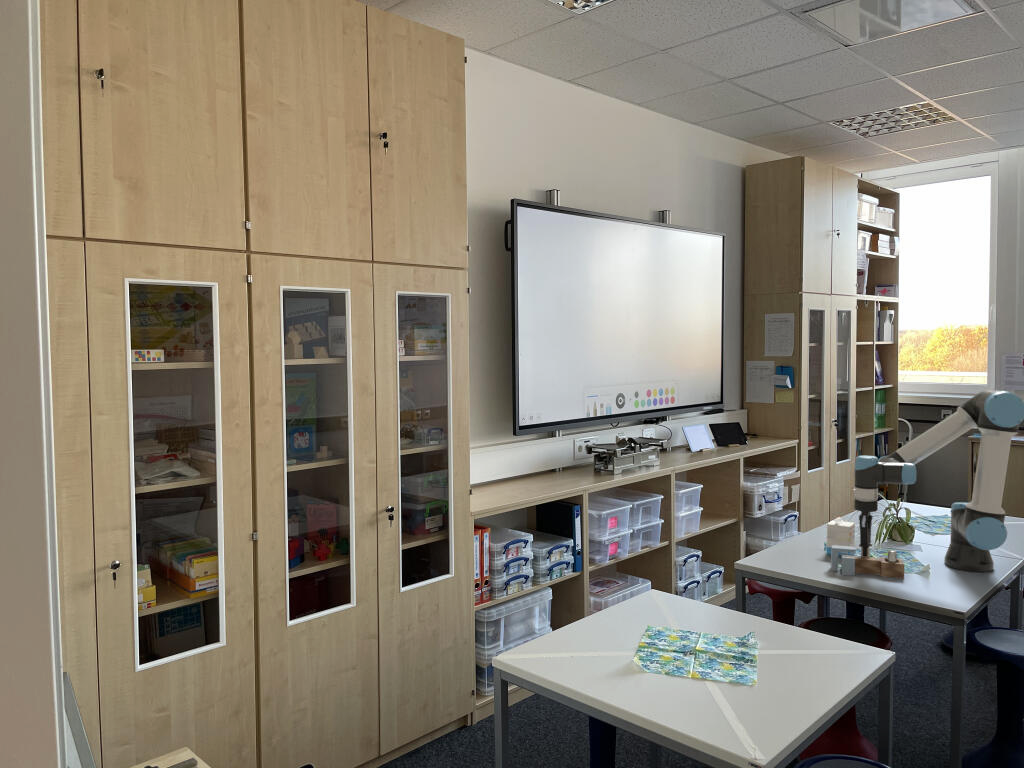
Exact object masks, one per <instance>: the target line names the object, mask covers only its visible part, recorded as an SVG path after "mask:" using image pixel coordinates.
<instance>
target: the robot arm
mask: <svg viewBox="0 0 1024 768" xmlns="http://www.w3.org/2000/svg"><path fill="white" fill-rule="evenodd" d="M1023 420H1024V400H1023V399H1022V398H1021V397H1020V396H1018V395H1017V394H1015V393H1013V392H1011V391H1009V390H1008V391H1006V390H999V389H995V388H994V389H986V390H983V391H980V392H979V393H977V394H976V395H974V396H972V397H971V398H970V399H968V400H967V401H965V402H964V403H962V404H961V405H959V406H957V409H956V411H955V412H953V413H952V414H950V415H949V416H947V417H946V418H945V419H943V420H941V421H940V422H938V423H937V424H935V425H934V426H932V427H931V428H929V429H928V430H926V431H924V432H923V433H921V434H920V435H918V436H917V437H915V438H914V439H912V440H910V441H908V442H907V443H906V444H904V445H903V446H901V447H900V448H898V449H896V450H894V452H891V453H890V454H889V455H884V456H881V457H879V458H878V457H877V456H876V455H875V456H874V455H858V456H856V457H855V460H854V467H853V468H854V488H853V489H852V492H854V498H855V499H854V500H853V501H854V502H853V503H854V505H853V506H854V507H853V508H854V510H855V511H857V512H861V514H859V516H858V520H859V523H858V524H859V534H860V535H859V542H860V543H859V545H858V547H860V557H871V547H873V543H871V542H872V540H871V537H872V525H873V524H872V523H873V515H872V513H875V512H877V511H878V509H879V508H878V503H879V501H878V499H879V484H891V485H903V486H905V485H913V484H915V483H916V481H917V469H916V468H917V467H916V464H918V463H919V462H921V461H923V460H924V459H926V458H927V457H929V456H931V455H933V454H934V453H935V452H937V451H939V450H940V449H941V448H943V447H945V446H947V445H948V444H949V443H952V442H953V441H954V440H956V439H957V438H959V437H961V436H962V435H964V434H966V433H967V432H969V431H970V430H973V429H975V430H977V429H978V431H980V433H981V436H980V441H979V443H980V444H979V447H978V455H977V456H978V457H977V463H976V469H975V476H974V482H973V489H972V490H973V491H972V498H971V501H969V502H953V503H952V504H951V508H950V543H949V546H948V548H947V551H946V553H945V555H944V564H945V566H947V567H950V568H952V569H953V568H954V569H957V570H960V571H966V572H967V571H968V572H974V573H975V572H976V573H978V572H979V573H984V572H985V573H987V572H991V571H993V570H994V566H995V565H994V564H995V563H994V561H993V560H994V559H993V557H992V554H991V552H990V551H992V550H993V551H994V550H996V549H998V548H1000V547H1002V546H1003V545H1004V544H1005V542H1006V541H1007V538H1008V531H1007V527H1006V525H1005V520H1006V519H1005V518H1006V511H1005V510H1004V508H1002V504H1003V498H1004V497H1003V495H1004V491H1005V490H1004V489H1005V484H1006V483H1005V482H1006V476H1007V469H1008V464H1009V463H1008V462H1009V456H1010V451H1011V450H1010V449H1011V444H1012V438H1013V437H1014V436H1016V435H1017V434H1018V433H1019V428H1020V424H1021V423H1022V422H1023Z"/></svg>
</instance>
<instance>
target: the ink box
mask: <svg viewBox="0 0 1024 768" xmlns="http://www.w3.org/2000/svg"><path fill="white" fill-rule="evenodd" d="M855 524H856V523H855V522H851V521H844V520H843V518H842V517H840V516H838V517H836V518H834V519H832V520H831V521H829V522H828V523H826V554H827V555H831V545H837V546H851V547H854V548H855V549H856V547H855V545H856V543H855V542H856V541H855V539H856V538H855V533H856V532H855V531H856V529H855V528H856V525H855ZM854 553H855V552H842V551H838V556H841V555H849V556H853V554H854Z"/></svg>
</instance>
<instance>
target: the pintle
mask: <svg viewBox="0 0 1024 768" xmlns="http://www.w3.org/2000/svg"><path fill="white" fill-rule="evenodd" d="M897 553H898V552H897V551H896V550H893V549H892V550H887V558H888V562H895V563H897V558H898V556H897V555H898V554H897Z"/></svg>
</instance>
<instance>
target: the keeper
mask: <svg viewBox="0 0 1024 768" xmlns="http://www.w3.org/2000/svg"><path fill="white" fill-rule="evenodd" d="M838 551H842V552H854V553H856V547H855V548H854V547H851V546H837V545H831V554H830V558H831V559H830V569H831V571H832V572H839V555H838ZM841 575H843V576H844V575H845V576H855V575H856V573H855V558H854V557H847V556H842V570H841Z"/></svg>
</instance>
